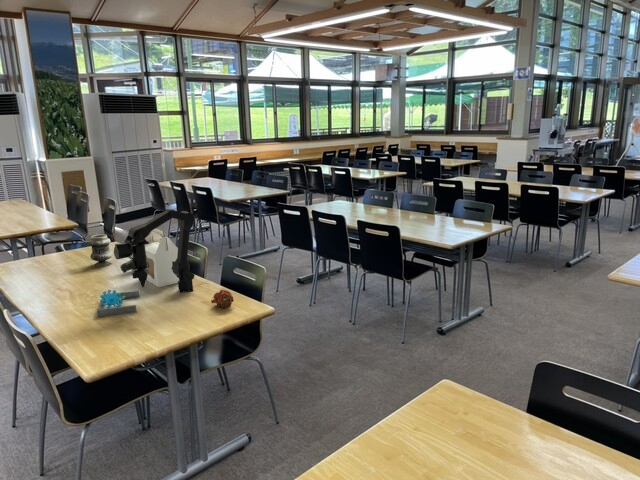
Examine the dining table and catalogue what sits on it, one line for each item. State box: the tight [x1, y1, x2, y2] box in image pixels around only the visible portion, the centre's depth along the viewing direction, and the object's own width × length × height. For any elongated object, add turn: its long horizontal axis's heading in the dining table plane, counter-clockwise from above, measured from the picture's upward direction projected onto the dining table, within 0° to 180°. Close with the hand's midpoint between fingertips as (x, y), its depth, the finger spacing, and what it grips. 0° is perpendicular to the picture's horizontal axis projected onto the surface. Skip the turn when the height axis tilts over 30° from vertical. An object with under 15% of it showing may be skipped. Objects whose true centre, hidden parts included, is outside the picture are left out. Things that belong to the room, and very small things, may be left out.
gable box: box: [145, 228, 179, 288], centre depth 246 cm, size 22×13×28 cm, turn 41°
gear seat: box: [96, 290, 140, 318], centre depth 212 cm, size 16×21×3 cm
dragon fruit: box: [210, 289, 235, 309], centre depth 209 cm, size 8×8×12 cm
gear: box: [99, 289, 125, 308], centre depth 212 cm, size 11×6×10 cm
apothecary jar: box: [88, 233, 113, 268], centre depth 278 cm, size 12×12×18 cm
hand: (143, 287), depth 216 cm, fingers closed
